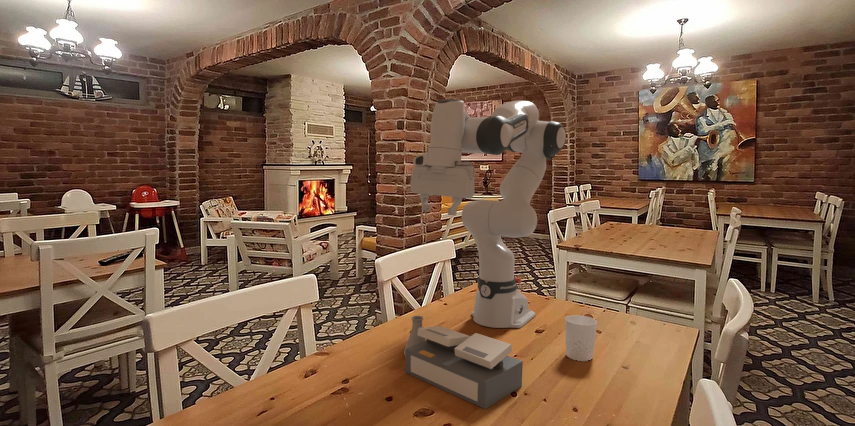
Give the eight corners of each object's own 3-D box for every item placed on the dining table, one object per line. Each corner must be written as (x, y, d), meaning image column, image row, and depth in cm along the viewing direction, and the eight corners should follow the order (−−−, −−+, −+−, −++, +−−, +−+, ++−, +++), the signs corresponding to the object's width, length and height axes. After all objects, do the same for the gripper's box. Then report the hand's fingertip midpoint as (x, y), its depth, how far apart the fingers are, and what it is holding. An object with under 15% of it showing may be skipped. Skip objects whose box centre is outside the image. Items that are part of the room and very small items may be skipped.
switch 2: (476, 339, 110) (475, 332, 110) (511, 351, 103) (511, 344, 103) (455, 355, 105) (454, 348, 104) (491, 369, 98) (490, 361, 97)
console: (443, 355, 122) (444, 327, 121) (521, 386, 106) (522, 354, 105) (404, 372, 112) (405, 342, 111) (484, 409, 95) (485, 374, 95)
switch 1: (438, 332, 118) (439, 325, 118) (469, 343, 111) (470, 335, 112) (417, 335, 112) (418, 327, 113) (448, 346, 106) (449, 338, 106)
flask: (427, 360, 119) (428, 323, 118) (400, 357, 120) (400, 321, 119) (432, 349, 126) (433, 314, 125) (407, 347, 128) (407, 312, 126)
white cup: (569, 348, 128) (571, 313, 127) (598, 355, 123) (600, 318, 122) (559, 357, 121) (561, 320, 120) (590, 365, 117) (592, 327, 116)
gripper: (482, 163, 116) (476, 218, 116) (425, 161, 130) (420, 210, 130) (466, 160, 111) (460, 217, 112) (409, 158, 125) (404, 208, 126)
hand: (438, 213), depth 121 cm, fingers open, 8 cm apart
